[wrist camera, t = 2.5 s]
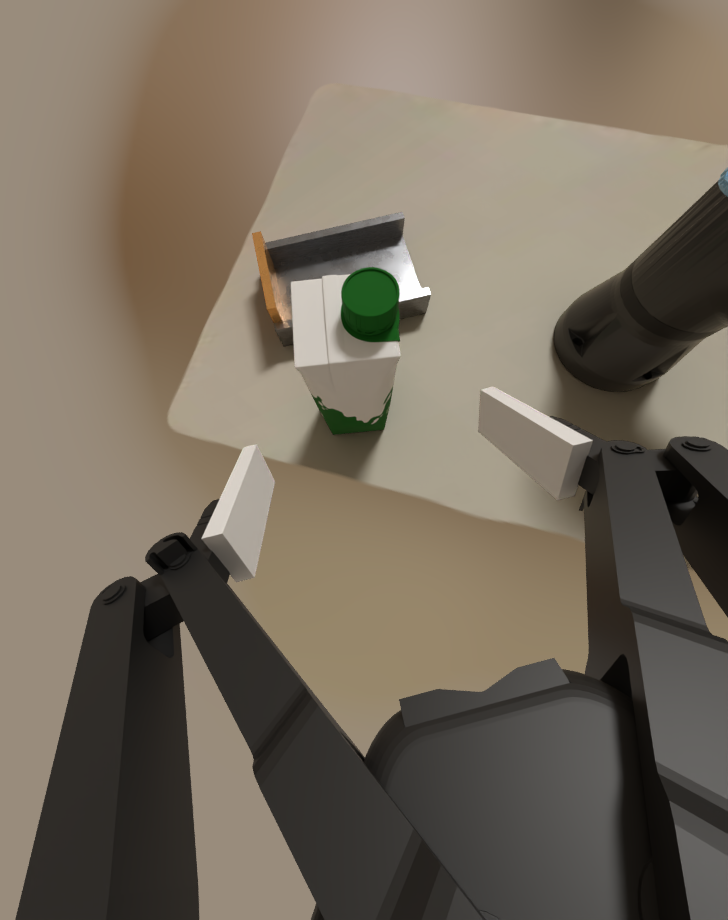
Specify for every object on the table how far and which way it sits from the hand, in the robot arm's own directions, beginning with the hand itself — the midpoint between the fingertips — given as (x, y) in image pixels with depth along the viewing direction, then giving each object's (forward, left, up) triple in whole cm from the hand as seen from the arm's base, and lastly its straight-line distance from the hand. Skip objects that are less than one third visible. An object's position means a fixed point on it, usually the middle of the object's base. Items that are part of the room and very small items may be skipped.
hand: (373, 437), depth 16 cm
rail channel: (+19, -23, -20) cm, 37 cm away
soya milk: (+7, -7, -21) cm, 23 cm away
